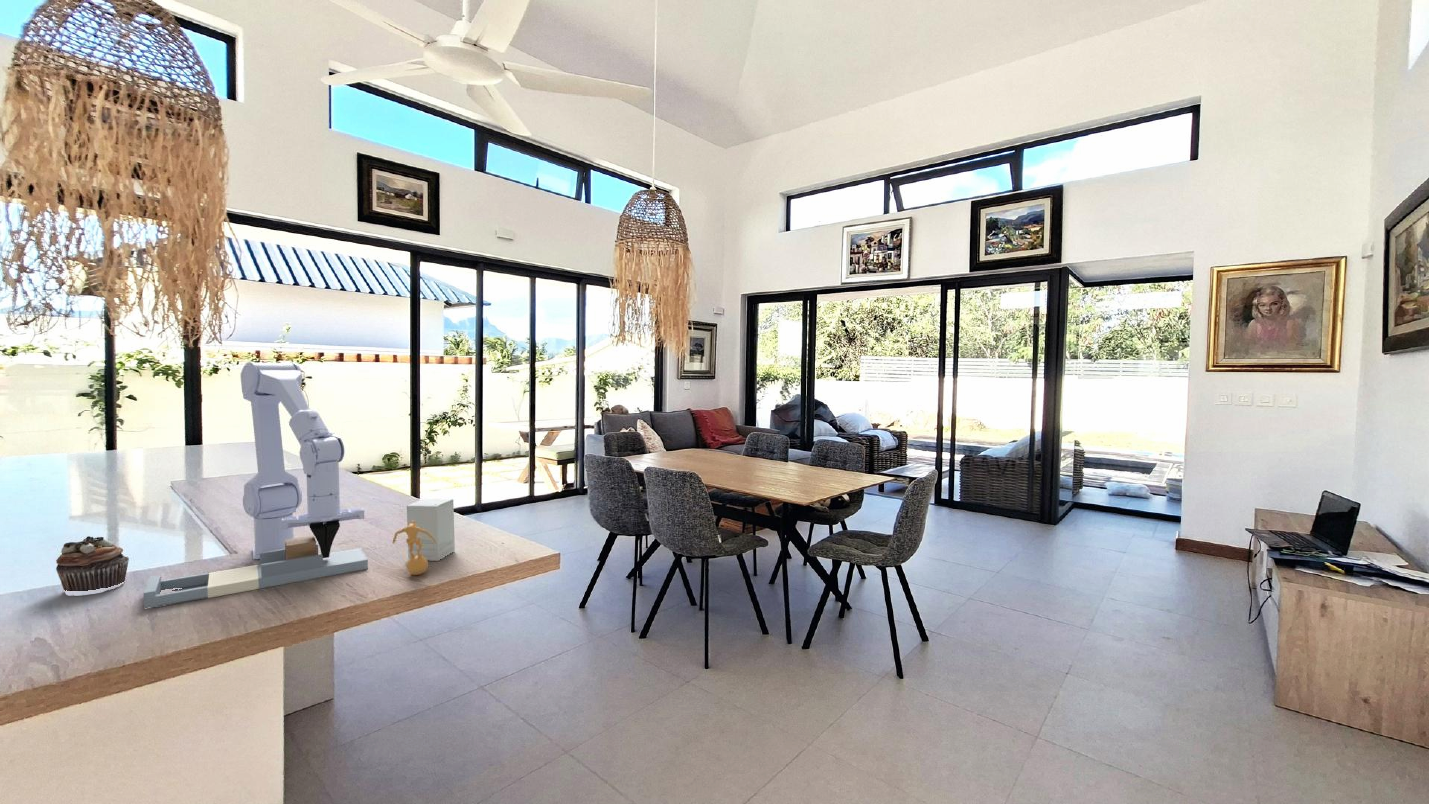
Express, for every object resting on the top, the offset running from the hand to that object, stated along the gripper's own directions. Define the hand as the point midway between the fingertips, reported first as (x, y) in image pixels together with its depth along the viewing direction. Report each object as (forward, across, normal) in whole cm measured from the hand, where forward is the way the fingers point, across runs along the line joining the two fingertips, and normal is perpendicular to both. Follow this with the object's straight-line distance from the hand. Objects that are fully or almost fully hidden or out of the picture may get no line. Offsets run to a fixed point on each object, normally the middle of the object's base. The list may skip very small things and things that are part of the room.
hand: (325, 556), depth 124 cm
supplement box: (+3, +20, -4) cm, 21 cm away
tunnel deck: (+3, -10, 0) cm, 10 cm away
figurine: (+3, +14, -16) cm, 22 cm away
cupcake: (+3, -36, +14) cm, 39 cm away
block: (+1, -4, 0) cm, 4 cm away
